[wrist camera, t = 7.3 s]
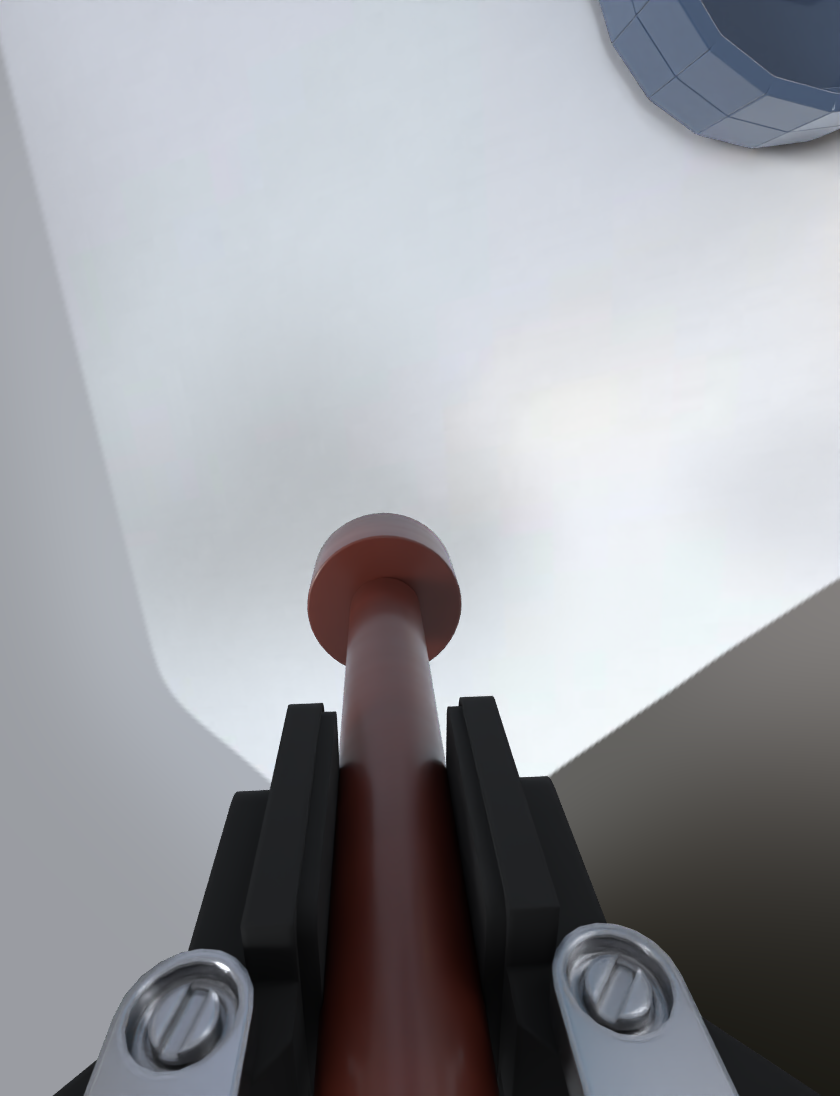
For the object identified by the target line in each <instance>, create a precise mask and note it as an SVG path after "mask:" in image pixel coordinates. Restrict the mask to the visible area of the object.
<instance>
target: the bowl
mask: <svg viewBox="0 0 840 1096" xmlns="http://www.w3.org/2000/svg"><path fill="white" fill-rule="evenodd" d="M599 2H600V5H601V9H602V12H603V16H604V19H605V23H606V26H607V29H608V33H609V36H610V40H611V42H612V44H613V46H614V48H615V49H616V51H617V52H618V54H619V55H620V57H621V58H622V60H623V61H624V63H625V64H626V66H627V67H628V69H629V70H630V72H631V73H632V75H633V76H634V78H635V79H636V81H637V82H638V84H639V85H640V87H641V88H642V90H643V91H644V93H645V94H646V96H647V97H648V98H649V100H650V101H652V102H653V103H654V104H656V105H657V106H658V107H660V108H661V109H663V110H664V111H665V112H667V113H668V114H669V115H671V116H672V117H673V118H675V119H676V120H677V121H679V122H680V123H681V124H683V125H684V126H686V127H687V128H688V129H690V130H691V131H692V132H694V133H695V134H697V135H700V136H704V137H708V138H712V139H716V140H720V141H724V142H728V143H732V144H735V145H739V146H743V147H747V148H760V147H768V146H775V145H783V144H791V143H798V142H806V141H810V140H814V139H816V138H818V137H821V136H823V135H826V134H828V133H831V132H833V131H836V130H838V129H840V0H599Z"/></svg>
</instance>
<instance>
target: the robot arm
mask: <svg viewBox="0 0 840 1096" xmlns="http://www.w3.org/2000/svg"><path fill="white" fill-rule="evenodd" d="M339 771H340V765H339V747H338V729H337V714H336V712H324V705H323V703H311V704H290V705H288V709H287V713H286V718H285V722H284V727H283V732H282V736H281V741H280V745H279V750H278V755H277V759H276V764H275V769H274V773H273V778H272V782H271V787H270V790H261V791H240V792H236V793H235V795H234V797H233V799H232V802H231V805H230V808H229V812H228V815H227V819H226V822H225V826H224V829H223V832H222V836H221V839H220V843H219V846H218V850H217V853H216V857H215V860H214V863H213V867H212V870H211V874H210V877H209V881H208V884H207V888H206V891H205V895H204V898H203V901H202V905H201V909H200V912H199V915H198V919H197V922H196V926H195V929H194V932H193V936H192V940H191V943H190V946H189V950H188V951H187V952H181V953H179V954H177V955H175V956H173V957H170V958H168V959H166V960H164V961H162V962H160V963H158V964H157V965H156V966H154V967H153V968H152V969H151V970H149V971H148V972H146V973H145V974H144V975H142V976H141V977H140V978H139V979H138V981H137V982H136V983H135V984H134V985H133V986H132V988H131V989H130V990H129V991H128V992H127V993H126V995H125V996H124V998H123V1000H122V1002H121V1003H120V1005H119V1007H118V1009H117V1011H116V1013H115V1015H114V1017H113V1019H112V1022H111V1025H110V1027H109V1030H108V1032H107V1035H106V1038H105V1040H104V1043H103V1046H102V1048H101V1051H100V1054H99V1056H98V1059H97V1060H96V1061H95V1062H94V1063H92V1064H91V1065H90V1066H89V1067H88V1068H86V1069H85V1070H84V1071H83V1072H82V1073H80V1074H79V1075H78V1076H76V1077H75V1078H74V1079H73V1080H72V1081H70V1082H69V1083H68V1084H67V1085H65V1086H64V1087H63V1088H62V1089H61V1090H59V1091H58V1092H57V1093H56V1094H55V1095H53V1096H313V1091H314V1078H315V1065H316V1051H317V1038H318V1025H319V1016H320V1011H321V1008H322V1006H323V993H324V979H325V965H326V951H327V937H328V924H329V910H330V896H331V882H332V868H333V854H334V840H335V827H336V813H337V799H338V785H339ZM446 771H447V777H448V783H449V789H450V795H451V802H452V808H453V814H454V820H455V826H456V832H457V838H458V845H459V851H460V857H461V863H462V869H463V875H464V882H465V888H466V894H467V900H468V906H469V912H470V919H471V925H472V931H473V937H474V943H475V949H476V956H477V962H478V968H479V974H480V980H481V986H482V993H483V998H484V1003H485V1007H486V1013H487V1020H488V1026H489V1032H490V1038H491V1044H492V1050H493V1056H494V1062H495V1068H496V1075H497V1081H498V1087H499V1093H500V1096H821V1095H820V1094H818V1093H817V1092H815V1091H814V1090H812V1089H810V1088H809V1087H807V1086H806V1085H804V1084H803V1083H801V1082H800V1081H798V1080H797V1079H795V1078H794V1077H792V1076H791V1075H789V1074H788V1073H786V1072H785V1071H783V1070H782V1069H780V1068H779V1067H777V1066H775V1065H774V1064H772V1063H771V1062H770V1061H768V1060H767V1059H765V1058H763V1057H762V1056H761V1055H759V1054H757V1053H756V1052H754V1051H753V1050H751V1049H750V1048H748V1047H747V1046H745V1045H744V1044H742V1043H741V1042H739V1041H738V1040H736V1039H735V1038H733V1037H731V1036H730V1035H729V1034H727V1033H726V1032H724V1031H723V1030H721V1029H720V1028H718V1027H716V1026H715V1025H713V1024H712V1023H711V1022H709V1021H707V1020H706V1019H704V1018H703V1017H701V1015H700V1013H699V1011H698V1009H697V1007H696V1005H695V1003H694V1000H693V998H692V996H691V994H690V992H689V990H688V988H687V986H686V984H685V981H684V979H683V977H682V976H681V974H680V973H679V971H678V969H677V968H676V966H675V965H674V963H673V962H672V960H671V958H670V957H669V956H668V955H667V954H666V953H665V952H664V951H663V950H662V949H660V947H659V946H658V945H657V944H655V943H654V942H653V941H652V940H650V939H648V938H647V937H645V936H643V935H642V934H640V933H638V932H636V931H635V930H632V929H629V928H626V927H623V926H620V925H617V924H607V922H606V920H605V917H604V915H603V912H602V910H601V907H600V904H599V902H598V899H597V896H596V894H595V891H594V889H593V886H592V883H591V881H590V879H589V876H588V873H587V870H586V868H585V865H584V863H583V860H582V857H581V855H580V852H579V850H578V847H577V844H576V842H575V839H574V837H573V834H572V831H571V829H570V826H569V824H568V821H567V818H566V816H565V813H564V811H563V808H562V805H561V803H560V800H559V798H558V795H557V792H556V790H555V787H554V785H553V783H552V781H551V779H550V778H549V777H548V776H540V777H520V778H519V775H518V771H517V768H516V765H515V762H514V759H513V756H512V752H511V749H510V746H509V743H508V740H507V737H506V734H505V730H504V727H503V724H502V721H501V718H500V715H499V711H498V708H497V705H496V702H495V699H494V697H493V696H479V697H460V699H459V706H453V707H448V708H447V737H446Z"/></svg>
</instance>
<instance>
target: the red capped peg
mask: <svg viewBox="0 0 840 1096" xmlns="http://www.w3.org/2000/svg"><path fill="white" fill-rule="evenodd" d="M307 610H308V617H309V622H310V625H311V628H312V631H313V633H314V635H315V637H316V639H317V640H318V642H319V643H320V645H321V646H322V647H323V648H324V649H325V651H326V652H327V653H328V654H330V655H331V656H332V657H333V658H334V659H336V660H337V661H338V662H340V663H341V664H343V665H345V666H346V670H345V683H344V696H343V709H342V722H341V736H340V749H339V765H340V771H339V785H338V799H337V813H336V827H335V840H334V854H333V868H332V882H331V896H330V910H329V924H328V937H327V951H326V965H325V979H324V993H323V1006H322V1008H321V1011H320V1016H319V1025H318V1038H317V1051H316V1065H315V1078H314V1091H313V1096H500V1093H499V1087H498V1081H497V1075H496V1068H495V1062H494V1056H493V1050H492V1044H491V1038H490V1032H489V1026H488V1020H487V1013H486V1007H485V1003H484V998H483V993H482V986H481V980H480V974H479V968H478V962H477V956H476V949H475V943H474V937H473V931H472V925H471V919H470V912H469V906H468V900H467V894H466V888H465V882H464V875H463V869H462V863H461V857H460V851H459V845H458V838H457V832H456V826H455V820H454V814H453V808H452V802H451V795H450V789H449V783H448V777H447V771H446V763H445V757H444V750H443V744H442V738H441V732H440V726H439V720H438V714H437V708H436V702H435V695H434V689H433V683H432V677H431V671H430V665H429V661H430V660H432V659H433V658H434V657H436V656H437V655H438V654H439V653H440V652H441V651H442V650H443V649H444V648H445V647H446V645H447V644H448V643H449V641H450V640H451V638H452V636H453V635H454V633H455V631H456V628H457V626H458V623H459V619H460V615H461V593H460V588H459V585H458V582H457V579H456V575H455V572H454V569H453V566H452V563H451V560H450V557H449V554H448V552H447V550H446V548H445V546H444V545H443V543H442V542H441V540H440V539H439V538H438V537H437V536H436V534H435V533H434V532H433V531H431V530H430V529H429V528H428V527H426V526H425V525H423V524H422V523H420V522H418V521H416V520H414V519H412V518H409V517H406V516H403V515H398V514H392V513H378V514H370V515H365V516H362V517H359V518H356V519H354V520H352V521H350V522H348V523H346V524H344V525H343V526H341V527H340V528H339V529H337V530H336V531H335V532H334V533H333V534H332V535H331V536H330V537H329V538H328V540H327V541H326V542H325V544H324V545H323V547H322V548H321V550H320V552H319V555H318V557H317V560H316V564H315V567H314V572H313V576H312V580H311V585H310V589H309V594H308V606H307Z"/></svg>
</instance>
